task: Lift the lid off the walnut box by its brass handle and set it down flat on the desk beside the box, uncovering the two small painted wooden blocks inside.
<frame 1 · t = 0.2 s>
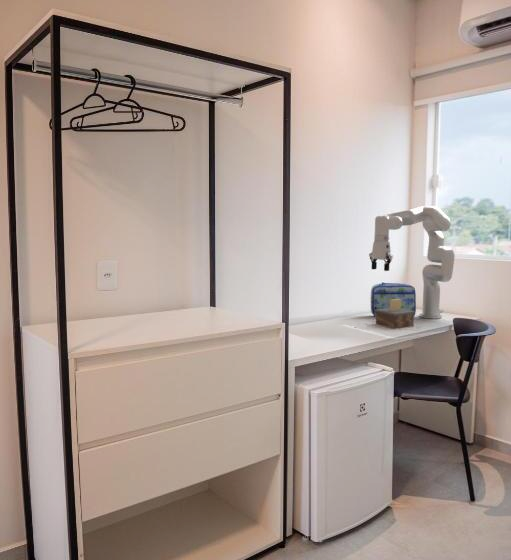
hand: (380, 270, 289), 31 cm above the table, tool pointing down, fingers open, 9 cm apart
lid: (395, 312, 286), point 8 cm above the table, touching walnut box
terracotta block: (394, 323, 291), point 1 cm above the table, touching walnut box
walnut box: (394, 326, 287), on the table
lunch box: (392, 317, 314), on the table
sage block: (394, 326, 284), point 1 cm above the table, touching walnut box
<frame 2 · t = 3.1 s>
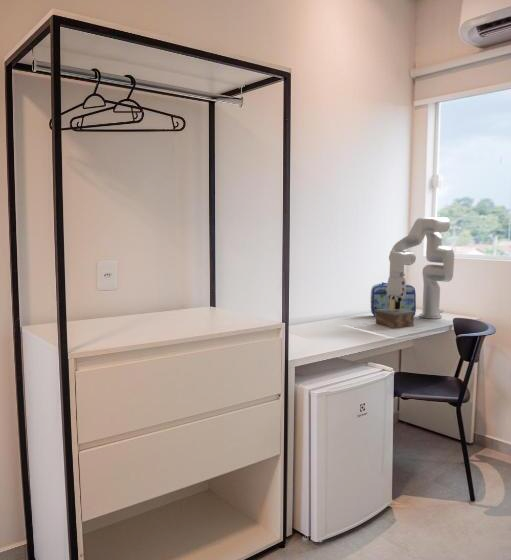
hand: (395, 308, 286), 10 cm above the table, tool pointing down, fingers closed on lid, 2 cm apart
lid: (395, 312, 286), point 8 cm above the table, touching gripper, walnut box
everything else where it was.
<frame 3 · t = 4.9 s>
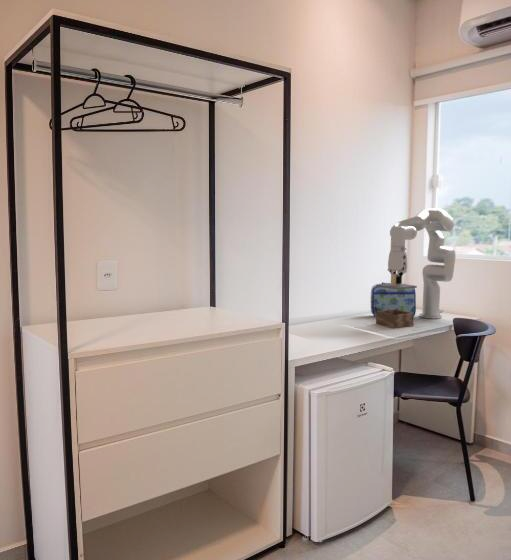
hand: (396, 283, 285), 24 cm above the table, tool pointing down, fingers closed on lid, 2 cm apart
lid: (396, 287, 285), point 22 cm above the table, touching gripper
everything else where it was.
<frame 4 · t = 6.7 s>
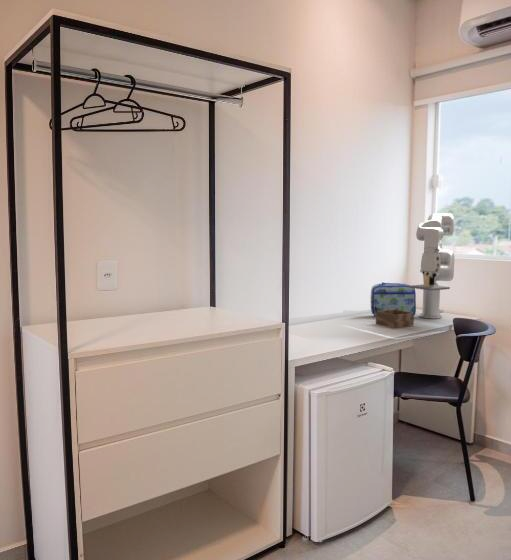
hand: (429, 284, 287), 23 cm above the table, tool pointing down, fingers closed on lid, 2 cm apart
lid: (429, 288, 287), point 21 cm above the table, touching gripper
everything else where it was.
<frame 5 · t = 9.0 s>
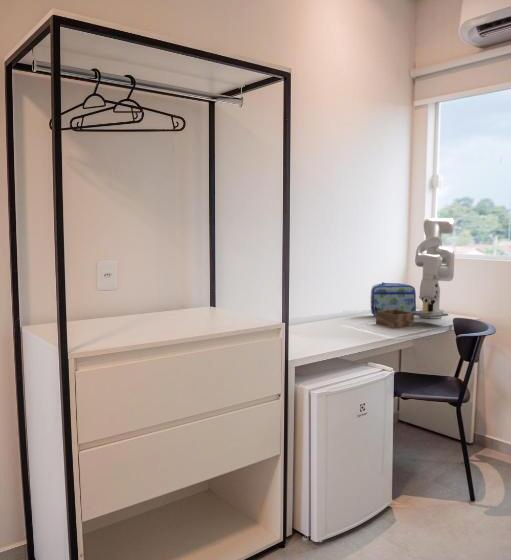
hand: (428, 310, 288), 9 cm above the table, tool pointing down, fingers closed on lid, 2 cm apart
lid: (427, 314, 288), point 6 cm above the table, touching gripper
everything else where it was.
when the fingers open (4 cm above the table, at t = 10.8 s): lid drops 2 cm, on the table.
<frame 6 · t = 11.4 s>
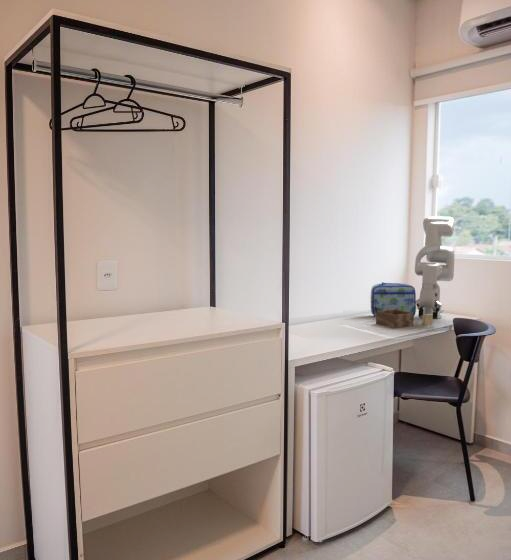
hand: (427, 317, 289), 5 cm above the table, tool pointing down, fingers open, 9 cm apart
lid: (427, 327, 290), on the table
everything else where it was.
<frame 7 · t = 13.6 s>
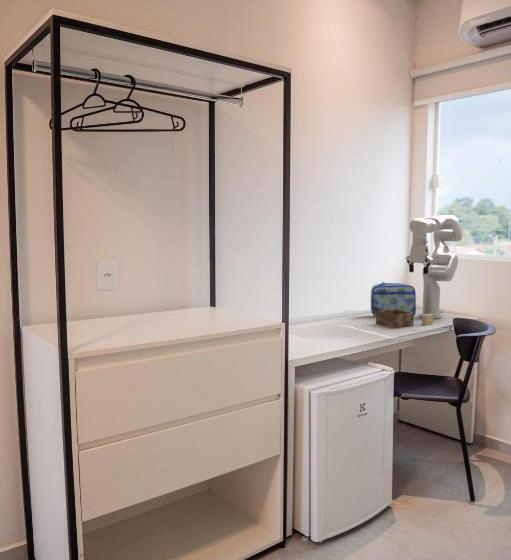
hand: (418, 273, 296), 28 cm above the table, tool pointing down, fingers open, 9 cm apart
nothing on the table moved.
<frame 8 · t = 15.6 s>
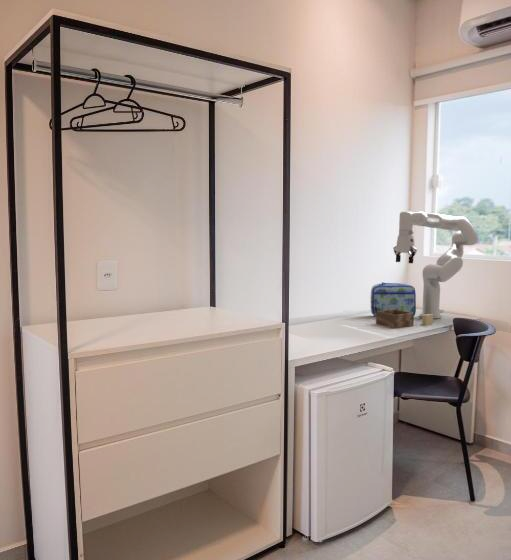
hand: (404, 262, 306), 33 cm above the table, tool pointing down, fingers open, 9 cm apart
nothing on the table moved.
at the end: lid inside the target area (0.0 cm from its centre), on the table; lid tilted 0°; the gripper is holding nothing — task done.
